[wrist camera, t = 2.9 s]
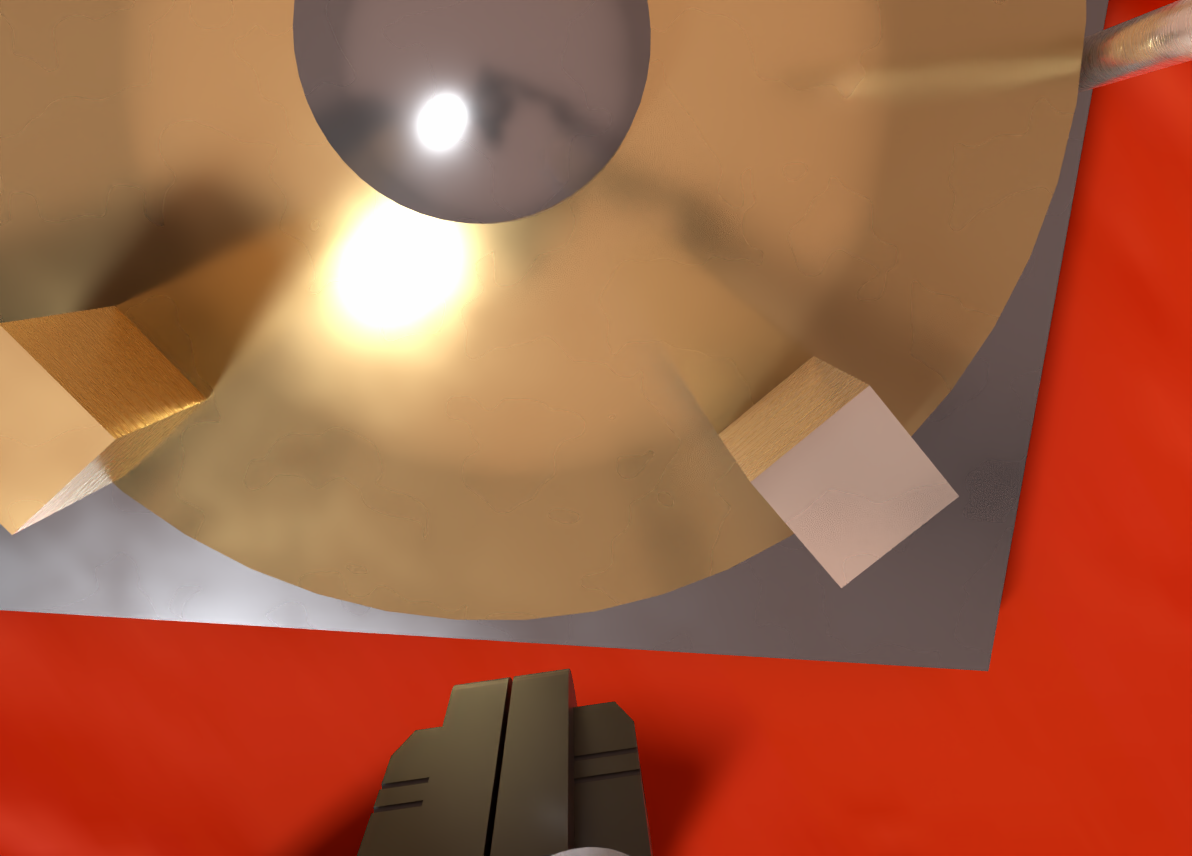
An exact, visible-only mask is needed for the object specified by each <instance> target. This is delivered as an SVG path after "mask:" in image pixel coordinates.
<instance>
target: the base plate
mask: <svg viewBox="0 0 1192 856" xmlns="http://www.w3.org/2000/svg"><path fill="white" fill-rule="evenodd" d="M1108 1H1109V0H1086V26H1085V35H1084V44H1083V52H1082V61H1081V70H1080V79H1079V87H1078V96H1077V104H1076V108H1075V112H1074V116H1073V120H1072V125H1071V129H1070V133H1069V137H1068V141H1067V146H1066V150H1065V154H1064V158H1063V162H1062V167H1061V171H1060V175H1059V179H1058V183H1057V186H1056V188H1055V191H1054V194H1053V197H1052V199H1051V202H1050V205H1049V207H1048V210H1047V213H1046V215H1045V218H1044V221H1043V224H1042V226H1041V229H1040V232H1039V234H1038V237H1037V240H1036V243H1035V245H1034V248H1033V251H1032V253H1031V256H1030V258H1029V260H1028V262H1027V264H1026V266H1025V268H1024V270H1023V272H1022V274H1021V276H1020V278H1019V280H1018V282H1017V284H1016V286H1015V288H1014V290H1013V292H1012V293H1011V295H1010V297H1009V299H1008V301H1007V303H1006V305H1005V307H1004V309H1003V311H1002V313H1001V315H1000V317H999V319H998V321H997V323H996V325H995V327H994V328H993V330H992V331H991V333H990V334H989V336H988V337H987V339H986V340H985V342H984V343H983V344H982V346H981V347H980V349H979V350H978V352H977V353H976V355H975V356H974V358H973V359H972V361H971V362H970V364H969V365H968V367H967V368H966V370H965V371H964V373H963V374H962V376H961V377H960V378H959V380H958V381H957V383H956V384H955V386H954V387H953V389H952V390H951V391H950V393H949V394H948V395H947V396H946V397H945V398H944V399H943V401H942V402H941V403H940V404H939V405H938V406H937V408H936V409H935V410H934V411H933V412H932V413H931V414H930V416H929V417H928V418H927V419H926V420H925V421H924V422H923V424H922V425H921V426H920V427H919V428H918V429H917V431H916V432H915V433H914V434H913V435H912V436H911V437H912V438H913V440H914V441H915V442H916V443H917V445H918V446H919V447H920V448H921V450H922V451H923V452H924V453H925V455H926V456H927V457H928V458H929V460H930V461H931V462H932V463H933V464H934V466H935V467H936V468H937V469H938V471H939V472H940V473H941V474H942V476H943V477H944V478H945V479H946V481H947V482H948V483H949V484H950V486H951V487H952V488H953V489H954V491H955V492H956V493H957V494H958V495H959V497H958V498H956V499H955V500H954V501H953V502H951V503H950V504H949V505H947V506H946V507H945V508H944V509H942V510H941V511H940V512H938V513H937V514H936V515H935V516H933V517H932V518H931V519H929V520H928V521H927V522H926V523H924V524H923V525H922V526H921V527H919V528H918V529H917V530H915V531H914V532H913V533H912V534H910V535H909V536H908V537H906V538H905V539H904V540H903V541H901V542H900V543H899V544H897V545H896V546H895V547H894V548H892V549H891V550H890V551H889V552H887V553H886V554H885V555H883V556H882V557H881V558H880V559H878V560H877V561H876V562H874V563H873V564H872V565H871V566H869V567H868V568H867V569H865V570H864V571H863V572H862V573H860V574H859V575H858V576H856V577H855V578H854V579H853V580H851V581H850V582H849V583H848V584H846V585H845V586H844V587H842V588H841V587H840V586H839V585H838V584H837V583H836V581H835V580H834V579H833V578H832V577H831V576H830V574H829V573H828V572H827V571H826V570H825V569H824V567H823V566H822V565H821V564H820V563H819V562H818V560H817V559H816V558H815V557H814V556H813V555H812V554H811V552H810V551H809V550H808V549H807V548H806V547H805V545H804V544H803V543H802V542H801V541H800V540H799V538H798V537H797V536H796V535H795V534H793V535H791V536H790V537H788V538H786V539H784V540H782V541H780V542H778V543H777V544H775V545H773V546H771V547H769V548H767V549H765V550H763V551H762V552H760V553H758V554H756V555H754V556H752V557H750V558H748V559H746V560H745V561H743V562H741V563H739V564H737V565H735V566H733V567H731V568H730V569H728V570H725V571H723V572H720V573H717V574H715V575H712V576H710V577H707V578H704V579H702V580H699V581H697V582H694V583H691V584H689V585H686V586H683V587H681V588H678V589H676V590H673V591H670V592H668V593H665V594H663V595H659V596H655V597H651V598H647V599H643V600H639V601H635V602H631V603H627V604H623V605H619V606H615V607H611V608H607V609H603V610H598V611H594V612H586V613H578V614H570V615H561V616H553V617H545V618H537V619H528V620H454V619H446V618H438V617H430V616H421V615H413V614H405V613H397V612H389V611H384V610H380V609H376V608H372V607H368V606H363V605H359V604H355V603H351V602H347V601H343V600H339V599H335V598H331V597H327V596H323V595H319V594H316V593H313V592H311V591H308V590H305V589H303V588H300V587H298V586H295V585H292V584H290V583H287V582H284V581H282V580H279V579H276V578H274V577H271V576H269V575H266V574H263V573H261V572H258V571H255V570H253V569H250V568H248V567H246V566H244V565H243V564H241V563H239V562H237V561H235V560H233V559H231V558H229V557H227V556H225V555H223V554H221V553H220V552H218V551H216V550H214V549H212V548H210V547H208V546H206V545H204V544H202V543H200V542H199V541H197V540H195V539H193V538H191V537H189V536H187V535H185V534H184V533H182V532H181V531H179V530H178V529H176V528H175V527H173V526H172V525H171V524H169V523H168V522H166V521H165V520H163V519H162V518H160V517H159V516H157V515H156V514H154V513H153V512H152V511H150V510H149V509H147V508H146V507H144V506H143V505H141V504H140V503H138V502H137V501H135V500H134V499H132V498H131V497H130V496H128V495H127V494H125V493H124V492H123V491H121V490H120V489H119V488H118V487H117V486H116V485H115V484H113V483H111V484H109V485H107V486H105V487H103V488H101V489H99V490H97V491H95V492H93V493H91V494H90V495H88V496H86V497H84V498H82V499H80V500H78V501H76V502H74V503H72V504H71V505H69V506H67V507H65V508H63V509H61V510H59V511H57V512H55V513H53V514H51V515H50V516H48V517H46V518H44V519H42V520H40V521H38V522H36V523H34V524H32V525H30V526H29V527H27V528H25V529H23V530H21V531H19V532H17V533H15V534H13V535H12V534H11V533H10V532H8V531H7V530H6V529H5V528H4V527H3V526H2V525H1V524H0V610H10V611H26V612H42V613H58V614H74V615H91V616H107V617H123V618H139V619H155V620H171V621H188V622H204V623H220V624H236V625H252V626H269V627H285V628H301V629H317V630H333V631H349V632H366V633H382V634H398V635H414V636H430V637H447V638H463V639H479V640H495V641H511V642H527V643H544V644H560V645H576V646H592V647H608V648H625V649H641V650H657V651H673V652H689V653H705V654H722V655H738V656H754V657H770V658H786V659H803V660H819V661H835V662H851V663H867V664H883V665H900V666H916V667H932V668H948V669H964V670H981V671H988V670H989V664H990V659H991V653H992V647H993V642H994V636H995V631H996V625H997V620H998V614H999V608H1000V603H1001V597H1002V592H1003V586H1004V581H1005V575H1006V569H1007V564H1008V558H1009V553H1010V547H1011V541H1012V536H1013V530H1014V525H1015V519H1016V514H1017V508H1018V502H1019V497H1020V491H1021V486H1022V480H1023V475H1024V469H1025V463H1026V458H1027V452H1028V447H1029V441H1030V436H1031V430H1032V424H1033V419H1034V413H1035V408H1036V402H1037V397H1038V391H1039V385H1040V380H1041V374H1042V369H1043V363H1044V357H1045V352H1046V346H1047V341H1048V335H1049V330H1050V324H1051V318H1052V313H1053V307H1054V302H1055V296H1056V291H1057V285H1058V279H1059V274H1060V268H1061V263H1062V257H1063V252H1064V246H1065V240H1066V235H1067V229H1068V224H1069V218H1070V213H1071V207H1072V201H1073V196H1074V190H1075V185H1076V179H1077V173H1078V168H1079V162H1080V157H1081V151H1082V146H1083V140H1084V134H1085V129H1086V123H1087V118H1088V112H1089V107H1090V101H1091V95H1092V90H1093V88H1097V87H1100V86H1104V85H1107V84H1111V83H1114V82H1118V81H1121V80H1125V79H1128V78H1132V77H1135V76H1139V75H1142V74H1145V73H1149V72H1152V71H1156V70H1159V69H1163V68H1166V67H1170V66H1173V65H1177V64H1180V63H1184V62H1187V61H1191V60H1192V0H1179V1H1176V2H1174V3H1171V4H1169V5H1166V6H1164V7H1161V8H1158V9H1156V10H1153V11H1151V12H1148V13H1146V14H1143V15H1141V16H1138V17H1136V18H1133V19H1131V20H1128V21H1126V22H1123V23H1120V24H1118V25H1115V26H1113V27H1110V28H1108V29H1105V30H1103V29H1104V23H1105V17H1106V12H1107V6H1108Z"/></svg>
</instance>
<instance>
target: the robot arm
mask: <svg viewBox="0 0 1192 856" xmlns="http://www.w3.org/2000/svg"><path fill="white" fill-rule="evenodd" d="M357 856H653V851H652V844H651V836H650V828H649V822H648V815H647V808H646V801H645V794H644V787H643V781H642V774H641V767H640V760H639V753H638V747H637V740H636V733H635V726H634V721H633V720H632V719H631V718H630V717H629V716H628V715H627V714H626V713H625V712H624V711H623V710H622V709H621V708H620V707H619V706H618V705H617V704H616V703H615V702H608V703H601V704H594V705H587V706H580V707H577V703H576V696H575V690H574V684H573V679H572V674H571V671H570V669H563V670H556V671H549V672H542V673H536V674H529V675H522V676H515V677H514V678H513V681H512V679H511V678H510V677H509V678H502V679H495V680H488V681H481V682H474V683H467V684H460V685H455V686H454V687H453V689H452V692H451V696H450V700H449V704H448V707H447V711H446V715H445V719H444V723H443V727H436V728H429V729H422V730H416V731H415V732H414V733H413V734H412V735H411V736H410V737H409V738H408V739H407V740H406V741H405V742H404V743H403V744H402V745H401V746H400V748H399V749H398V750H397V751H396V752H395V753H394V754H393V755H392V756H391V758H390V761H389V764H388V767H387V770H386V773H385V776H384V779H383V781H382V789H381V790H379V793H378V796H377V799H376V802H375V805H374V813H371V816H370V819H369V822H368V825H367V828H366V831H365V834H364V837H363V839H362V842H361V845H360V848H359V851H358V854H357Z"/></svg>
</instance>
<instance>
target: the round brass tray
mask: <svg viewBox="0 0 1192 856" xmlns="http://www.w3.org/2000/svg"><path fill="white" fill-rule="evenodd" d="M1085 26H1086V0H0V524H1V525H2V526H3V527H4V528H5V529H6V530H7V531H8V532H10V533H11V534H12V535H13V534H15V533H17V532H19V531H21V530H23V529H25V528H27V527H29V526H30V525H32V524H34V523H36V522H38V521H40V520H42V519H44V518H46V517H48V516H50V515H51V514H53V513H55V512H57V511H59V510H61V509H63V508H65V507H67V506H69V505H71V504H72V503H74V502H76V501H78V500H80V499H82V498H84V497H86V496H88V495H90V494H91V493H93V492H95V491H97V490H99V489H101V488H103V487H105V486H107V485H109V484H111V483H113V484H115V485H116V486H117V487H118V488H119V489H120V490H121V491H123V492H124V493H125V494H127V495H128V496H130V497H131V498H132V499H134V500H135V501H137V502H138V503H140V504H141V505H143V506H144V507H146V508H147V509H149V510H150V511H152V512H153V513H154V514H156V515H157V516H159V517H160V518H162V519H163V520H165V521H166V522H168V523H169V524H171V525H172V526H173V527H175V528H176V529H178V530H179V531H181V532H182V533H184V534H185V535H187V536H189V537H191V538H193V539H195V540H197V541H199V542H200V543H202V544H204V545H206V546H208V547H210V548H212V549H214V550H216V551H218V552H220V553H221V554H223V555H225V556H227V557H229V558H231V559H233V560H235V561H237V562H239V563H241V564H243V565H244V566H246V567H248V568H250V569H253V570H255V571H258V572H261V573H263V574H266V575H269V576H271V577H274V578H276V579H279V580H282V581H284V582H287V583H290V584H292V585H295V586H298V587H300V588H303V589H305V590H308V591H311V592H313V593H316V594H319V595H323V596H327V597H331V598H335V599H339V600H343V601H347V602H351V603H355V604H359V605H363V606H368V607H372V608H376V609H380V610H384V611H389V612H397V613H405V614H413V615H421V616H430V617H438V618H446V619H454V620H528V619H537V618H545V617H553V616H561V615H570V614H578V613H586V612H594V611H598V610H603V609H607V608H611V607H615V606H619V605H623V604H627V603H631V602H635V601H639V600H643V599H647V598H651V597H655V596H659V595H663V594H665V593H668V592H670V591H673V590H676V589H678V588H681V587H683V586H686V585H689V584H691V583H694V582H697V581H699V580H702V579H704V578H707V577H710V576H712V575H715V574H717V573H720V572H723V571H725V570H728V569H730V568H731V567H733V566H735V565H737V564H739V563H741V562H743V561H745V560H746V559H748V558H750V557H752V556H754V555H756V554H758V553H760V552H762V551H763V550H765V549H767V548H769V547H771V546H773V545H775V544H777V543H778V542H780V541H782V540H784V539H786V538H788V537H790V536H791V535H793V534H795V535H796V536H797V537H798V538H799V540H800V541H801V542H802V543H803V544H804V545H805V547H806V548H807V549H808V550H809V551H810V552H811V554H812V555H813V556H814V557H815V558H816V559H817V560H818V562H819V563H820V564H821V565H822V566H823V567H824V569H825V570H826V571H827V572H828V573H829V574H830V576H831V577H832V578H833V579H834V580H835V581H836V583H837V584H838V585H839V586H840V587H841V588H842V587H844V586H845V585H846V584H848V583H849V582H850V581H851V580H853V579H854V578H855V577H856V576H858V575H859V574H860V573H862V572H863V571H864V570H865V569H867V568H868V567H869V566H871V565H872V564H873V563H874V562H876V561H877V560H878V559H880V558H881V557H882V556H883V555H885V554H886V553H887V552H889V551H890V550H891V549H892V548H894V547H895V546H896V545H897V544H899V543H900V542H901V541H903V540H904V539H905V538H906V537H908V536H909V535H910V534H912V533H913V532H914V531H915V530H917V529H918V528H919V527H921V526H922V525H923V524H924V523H926V522H927V521H928V520H929V519H931V518H932V517H933V516H935V515H936V514H937V513H938V512H940V511H941V510H942V509H944V508H945V507H946V506H947V505H949V504H950V503H951V502H953V501H954V500H955V499H956V498H958V497H959V495H958V494H957V493H956V492H955V491H954V489H953V488H952V487H951V486H950V484H949V483H948V482H947V481H946V479H945V478H944V477H943V476H942V474H941V473H940V472H939V471H938V469H937V468H936V467H935V466H934V464H933V463H932V462H931V461H930V460H929V458H928V457H927V456H926V455H925V453H924V452H923V451H922V450H921V448H920V447H919V446H918V445H917V443H916V442H915V441H914V440H913V438H912V437H911V436H912V435H913V434H914V433H915V432H916V431H917V429H918V428H919V427H920V426H921V425H922V424H923V422H924V421H925V420H926V419H927V418H928V417H929V416H930V414H931V413H932V412H933V411H934V410H935V409H936V408H937V406H938V405H939V404H940V403H941V402H942V401H943V399H944V398H945V397H946V396H947V395H948V394H949V393H950V391H951V390H952V389H953V387H954V386H955V384H956V383H957V381H958V380H959V378H960V377H961V376H962V374H963V373H964V371H965V370H966V368H967V367H968V365H969V364H970V362H971V361H972V359H973V358H974V356H975V355H976V353H977V352H978V350H979V349H980V347H981V346H982V344H983V343H984V342H985V340H986V339H987V337H988V336H989V334H990V333H991V331H992V330H993V328H994V327H995V325H996V323H997V321H998V319H999V317H1000V315H1001V313H1002V311H1003V309H1004V307H1005V305H1006V303H1007V301H1008V299H1009V297H1010V295H1011V293H1012V292H1013V290H1014V288H1015V286H1016V284H1017V282H1018V280H1019V278H1020V276H1021V274H1022V272H1023V270H1024V268H1025V266H1026V264H1027V262H1028V260H1029V258H1030V256H1031V253H1032V251H1033V248H1034V245H1035V243H1036V240H1037V237H1038V234H1039V232H1040V229H1041V226H1042V224H1043V221H1044V218H1045V215H1046V213H1047V210H1048V207H1049V205H1050V202H1051V199H1052V197H1053V194H1054V191H1055V188H1056V186H1057V183H1058V179H1059V175H1060V171H1061V167H1062V162H1063V158H1064V154H1065V150H1066V146H1067V141H1068V137H1069V133H1070V129H1071V125H1072V120H1073V116H1074V112H1075V108H1076V104H1077V96H1078V87H1079V79H1080V70H1081V61H1082V52H1083V44H1084V35H1085Z"/></svg>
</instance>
